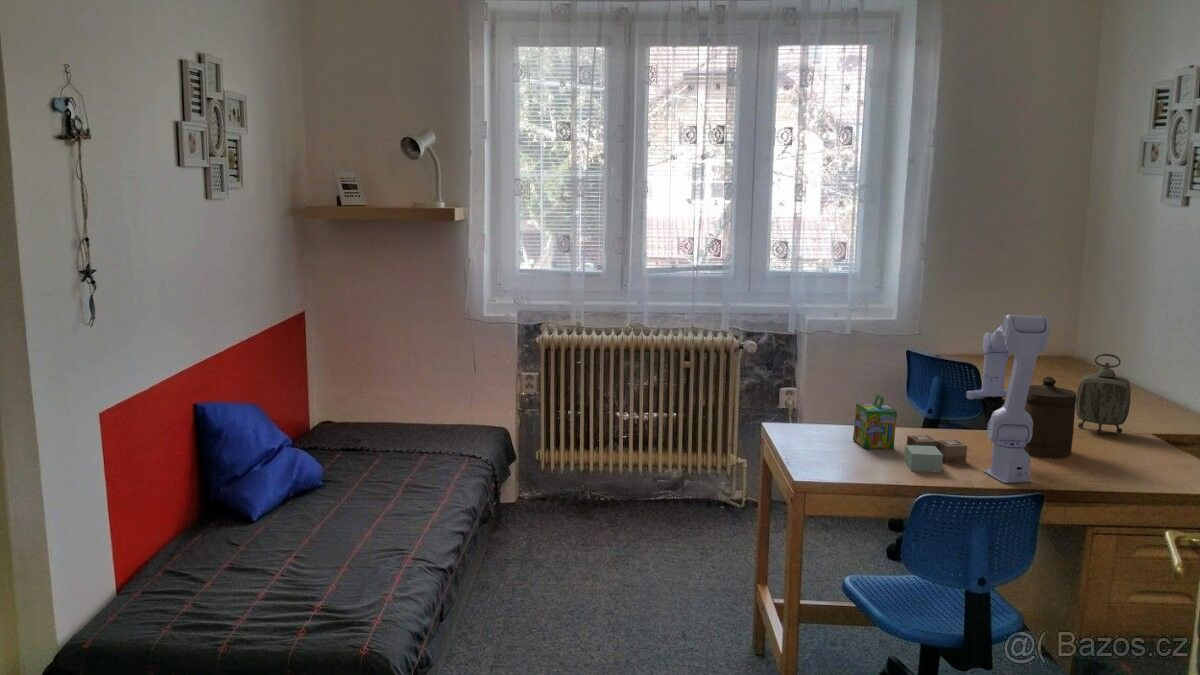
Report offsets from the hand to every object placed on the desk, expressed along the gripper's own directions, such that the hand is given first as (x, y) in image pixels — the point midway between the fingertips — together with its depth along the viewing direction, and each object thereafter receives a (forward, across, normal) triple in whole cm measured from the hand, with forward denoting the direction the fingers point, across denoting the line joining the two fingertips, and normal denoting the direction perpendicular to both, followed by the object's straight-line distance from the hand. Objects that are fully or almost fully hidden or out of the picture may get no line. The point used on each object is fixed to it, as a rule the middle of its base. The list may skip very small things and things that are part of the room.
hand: (989, 422), depth 251 cm
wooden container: (+10, -18, -1) cm, 20 cm away
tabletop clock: (+10, -49, -17) cm, 53 cm away
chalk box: (+10, +28, -13) cm, 32 cm away
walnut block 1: (+10, +19, -2) cm, 21 cm away
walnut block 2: (+10, +13, +3) cm, 17 cm away
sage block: (+10, +24, +8) cm, 27 cm away
